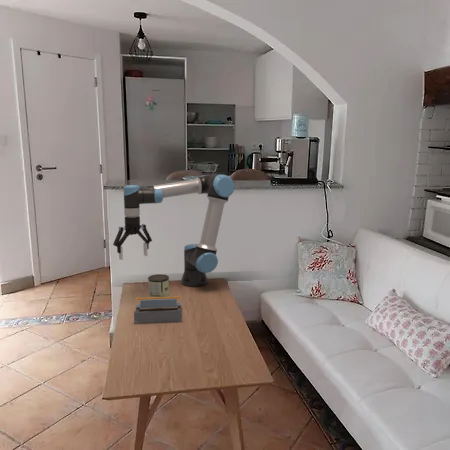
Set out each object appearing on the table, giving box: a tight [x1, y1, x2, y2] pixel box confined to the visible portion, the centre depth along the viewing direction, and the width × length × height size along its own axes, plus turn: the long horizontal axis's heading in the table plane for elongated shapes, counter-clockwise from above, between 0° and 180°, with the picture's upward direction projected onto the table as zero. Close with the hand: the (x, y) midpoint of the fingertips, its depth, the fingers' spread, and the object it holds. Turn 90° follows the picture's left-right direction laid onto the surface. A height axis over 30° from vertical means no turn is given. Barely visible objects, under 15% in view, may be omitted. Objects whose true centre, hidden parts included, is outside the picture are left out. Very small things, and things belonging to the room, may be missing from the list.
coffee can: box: [147, 273, 170, 298], centre depth 214 cm, size 10×10×14 cm
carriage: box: [135, 296, 183, 310], centre depth 207 cm, size 22×3×5 cm, turn 98°
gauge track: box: [133, 306, 183, 324], centre depth 200 cm, size 21×18×5 cm
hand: (133, 257), depth 219 cm, fingers open, 13 cm apart
